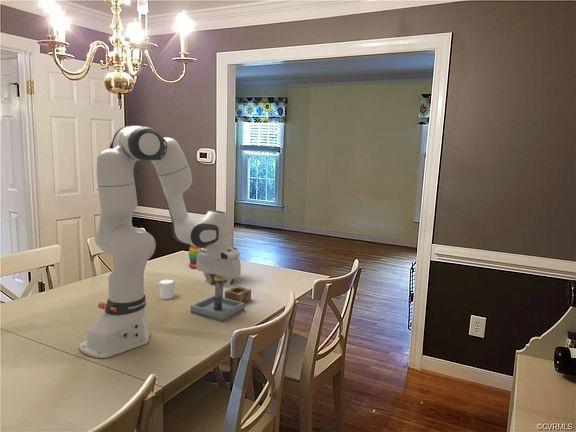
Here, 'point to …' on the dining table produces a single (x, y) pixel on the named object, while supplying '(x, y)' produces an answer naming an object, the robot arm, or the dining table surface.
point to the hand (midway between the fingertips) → (217, 284)
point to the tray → (226, 312)
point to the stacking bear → (193, 256)
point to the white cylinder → (166, 288)
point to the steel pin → (218, 291)
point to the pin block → (238, 294)
